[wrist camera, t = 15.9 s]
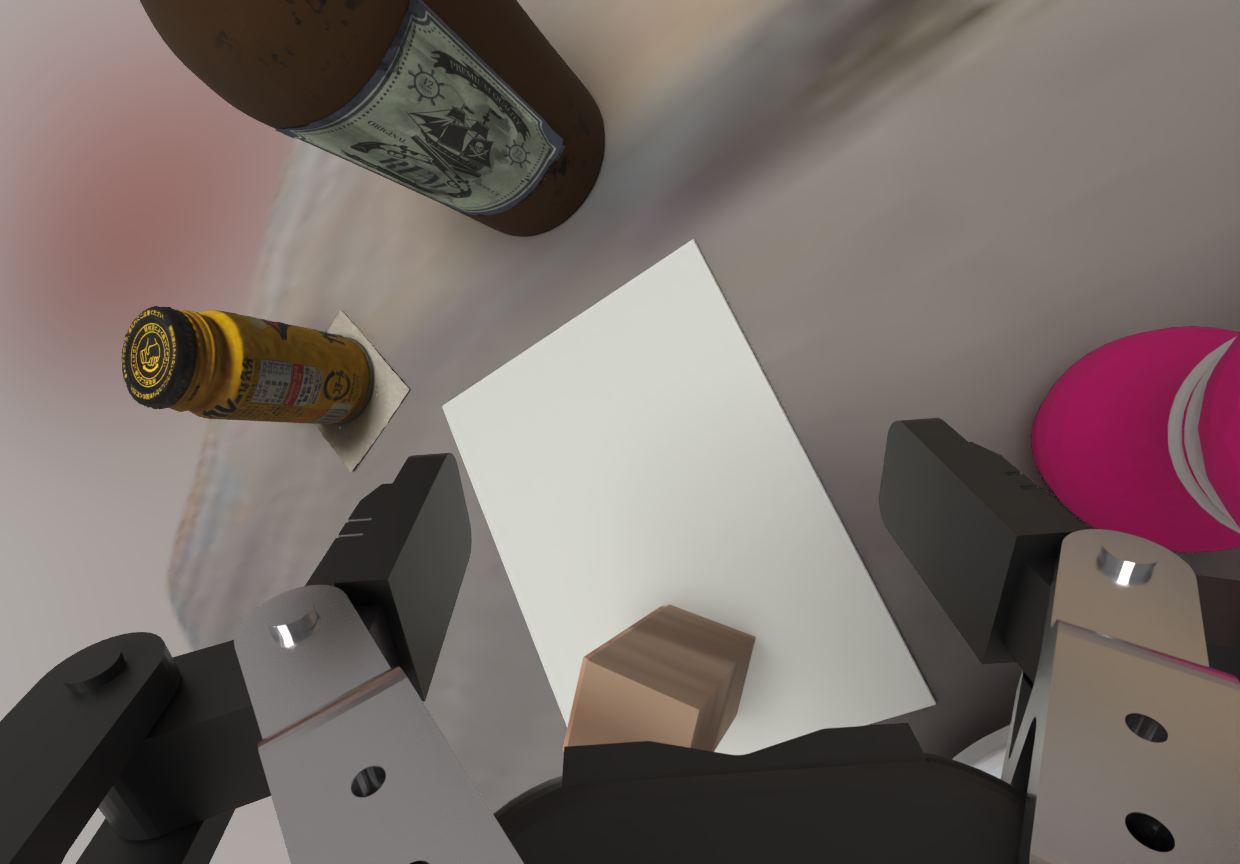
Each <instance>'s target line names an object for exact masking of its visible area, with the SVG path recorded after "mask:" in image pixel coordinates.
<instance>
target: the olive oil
mask: <svg viewBox="0 0 1240 864" xmlns="http://www.w3.org/2000/svg"><path fill="white" fill-rule="evenodd" d="M140 2H141V3H142V5H143V7H144V9H145V11H146V13H147V15H148V16H149V18H150V20H151V22H152V23H153V25H154V27H155V28H156V30H157V31H158V33H159V34H160V36H161V37H162V39H163V40H164V42H165V43H166V44H167V45H168V47H169V48H170V49H171V50H172V52H173V53H174V54H175V55H176V56H177V57H178V58H179V59H180V60H181V61H182V62H183V64H184V65H185V66H187V68H189V69H190V70H191V71H192V72H193V73H194V74H195V75H196V76H197V77H198V78H199V79H201V80H202V81H203V82H204V83H205V84H206V85H207V86H208V87H210V88H211V89H212V90H213V91H214V92H216V93H217V94H218V95H219V96H220V97H222V98H223V99H224V100H226V101H227V102H228V103H230V104H231V105H232V106H234V107H235V108H237V109H238V110H240V111H242V112H243V113H245V114H247V115H248V116H250V117H252V118H254V119H256V120H258V121H260V122H262V123H264V124H266V125H268V126H271V127H273V128H275V129H276V130H277V131H279V132H281V133H283V134H285V135H287V136H290V137H292V138H297V139H300V140H302V141H304V142H307V143H309V144H311V145H313V146H316V147H318V148H320V149H322V150H325V151H327V152H329V153H332V154H334V155H336V156H338V157H341V158H343V159H345V160H347V161H350V162H352V163H354V164H356V165H359V166H361V167H363V168H365V169H367V170H370V171H372V172H374V173H376V174H378V175H381V176H383V177H385V178H387V179H389V180H392V181H394V182H396V183H398V184H400V185H403V186H405V187H407V188H409V189H411V190H413V191H416V192H418V193H420V194H422V195H424V196H427V197H429V198H431V199H433V200H435V201H437V202H440V203H442V204H444V205H446V206H448V207H450V208H452V209H454V210H456V211H458V212H460V213H462V214H464V215H466V216H468V217H471V218H473V219H475V220H477V221H479V222H481V223H483V224H485V225H487V226H489V227H491V228H493V229H495V230H498V231H500V232H503V233H506V234H510V235H515V236H529V235H535V234H539V233H542V232H545V231H547V230H549V229H551V228H553V227H555V226H557V225H558V224H560V223H561V222H563V221H564V220H565V219H566V218H568V217H569V216H570V215H571V214H572V213H573V212H574V211H575V210H576V209H577V208H578V207H579V205H580V204H581V203H582V202H583V200H584V199H585V197H586V196H587V194H588V193H589V191H590V189H591V187H592V185H593V183H594V181H595V179H596V177H597V174H598V171H599V168H600V164H601V160H602V155H603V148H604V130H603V123H602V118H601V115H600V112H599V109H598V107H597V105H596V103H595V101H594V99H593V97H592V96H591V94H590V93H589V91H588V90H587V89H586V87H585V86H584V85H583V84H582V82H581V81H580V80H579V79H578V77H577V76H576V75H575V74H574V73H573V71H572V70H571V69H570V68H569V66H568V65H567V64H566V63H565V61H564V60H563V59H562V58H561V57H560V55H559V54H558V53H557V52H556V50H555V49H554V48H553V47H552V45H551V44H550V43H549V42H548V40H547V39H546V38H545V37H544V35H543V34H542V33H541V32H540V30H539V29H538V28H537V26H536V25H535V24H534V23H533V21H532V20H531V19H530V17H529V16H528V15H527V13H526V12H525V11H524V10H523V8H522V7H521V6H520V4H519V3H518V2H517V0H140Z"/></svg>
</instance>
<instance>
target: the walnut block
mask: <svg viewBox="0 0 1240 864" xmlns="http://www.w3.org/2000/svg"><path fill="white" fill-rule="evenodd" d="M755 639H756V637H755V636H752V635H750V634H747V633H744V632H742V631H739V630H736V629H734V628H731V627H728V626H726V625H723V624H720V623H718V622H715V621H713V620H710V619H707V618H705V617H702V616H699V615H697V614H694V613H691V612H689V611H686V610H683V609H681V608H678V607H675V606H673V605H668V606H667V607H664V606H660V607H659V608H657V609H656V610H654V611H653V612H651V613H650V614H648V615H647V616H645V617H644V618H642V619H641V620H639V621H638V622H636V623H634V624H633V625H631V626H630V627H628V628H627V629H625V630H624V631H622V632H621V633H619V634H618V635H616V636H615V637H613V638H612V639H610V640H609V641H607V642H605V643H604V644H602V645H601V646H599V647H598V648H596V649H595V650H593V651H592V652H590V653H589V654H587V655H586V656H584V657H583V660H582V665H581V669H580V674H579V678H578V683H577V687H576V692H575V696H574V700H573V705H572V709H571V714H570V718H569V723H568V727H567V731H566V736H565V740H564V745H563V749H562V750H563V751H564V747H566V746H581V745H595V744H610V743H624V742H639V741H653V742H658V743H664V744H670V745H676V746H682V747H688V748H694V749H700V750H706V751H712V752H714V751H715V749H716V748H717V746H718V745H719V743H720V741H721V740H722V738H723V737H724V735H725V733H726V732H727V730H728V729H729V727H730V725H731V724H732V722H733V720H734V719H735V717H736V716H737V712H738V708H739V704H740V700H741V696H742V692H743V687H744V683H745V679H746V675H747V671H748V667H749V663H750V659H751V655H752V651H753V647H754V643H755Z"/></svg>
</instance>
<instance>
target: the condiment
mask: <svg viewBox="0 0 1240 864" xmlns="http://www.w3.org/2000/svg"><path fill="white" fill-rule="evenodd" d="M122 371H123V377H124V379H125V382H126V384H127V388H128V391H129V393H130V394H131V395H132V397H133V398H134V399H135V400H136V401H137V402H138V403H140V404H142V405H144V406H147V407H152V408H153V409H163V408H171V409H174V410H177V411H179V412H183V411H187V410H188V411H190V412H192V413H193V414H195V415H197V416H199V417H203V418H208V419H227V420H250V421H271V422H293V423H315V424H316V425H317V427H318V428H319V430H320V431H321V432H322V434H323V436H324V438H325V439H326V440H327V441H328V442H329V443H330V445H331V447H332V448H333V449H334V450H335V451H336V453H337V454H338V455H339V457H340V459H341V460H342V462H343V464H344V465H345V466H346V467H347V468H348V470H349V471H350V472H352V470H353V469H354V468H355V466H356V465H357V463H359V462H360V461H361V459H362V458H363V456H364V455H365V454H366V452H367V451H368V449H369V448H370V446H371V445H372V444H373V443H374V442H375V440H376V439H377V437H378V436H379V434H380V433H381V431H382V430H383V428H384V427H385V426H386V425H387V424H388V421H389V419H390V418H391V416H392V415H393V413H394V412H395V411H396V409H397V408H398V407H399V405H400V403H401V401H402V400H403V398H404V397H405V395H406V394H407V393H408V391H409V388H408V387H407V386H406V385H405V384H404V383H403V382H402V381H401V379H400V378H399V377H398V375H397V374H396V373H395V372H394V371H393V370H392V369H391V368H390V367H389V365H388V364H387V363H386V362H385V361H384V360H383V359H382V357H381V356H380V355H379V354H378V352H377V351H376V350H375V348H374V347H373V346H372V345H371V343H370V342H369V341H368V340H367V339H366V338H365V337H364V335H363V334H362V333H361V332H360V331H359V330H358V328H357V327H356V326H355V325H354V324H353V323H352V322H351V320H350V319H349V318H348V317H347V316H346V315H345V314H344V313H343V312H342V311H341V310H340V311H339V313H338V315H337V316H336V318H335V319H334V321H333V322H332V325H331V327H330V328H329V329H328V332H323V331H317V330H312V329H307V328H303V327H299V326H292V325H288V324H284V323H280V322H272V321H268V320H264V319H258V318H255V317H250V316H243V315H238V314H236V313H229V312H224V311H218V310H217V311H216V310H212V311H204V312H201V313H197V312H194V311H185V310H182V311H180V310H174V309H172V308H170V307H157V306H155V307H151V308H148V309H146V310H145V311H143V312H142V313H141V314H140V315H139V316H138V317H137V318H136V319H135V320H134V321H133V322H132V324H131V326H130V328H129V330H128V333H127V334H126V335H125V343H124V346H123V349H122ZM376 386H377V391H375V387H376ZM376 392H377V393H378V398H376ZM339 426H340V427H341V429H339Z"/></svg>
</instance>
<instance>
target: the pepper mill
mask: <svg viewBox="0 0 1240 864" xmlns="http://www.w3.org/2000/svg"><path fill="white" fill-rule="evenodd" d="M1031 446H1032V452H1033V457H1034V460H1035V463H1036V466H1037V468H1038V470H1039V472H1040V474H1041V476H1042V477H1043V479H1044V480H1045V482H1046V483H1047V484H1048V486H1049V487H1050V488H1051V489H1052V490H1053V492H1054V493H1055V494H1056V496H1057V497H1058V498H1059V500H1060V501H1061V502H1062V503H1063V504H1064V505H1065V506H1066V507H1067V508H1068V509H1069V510H1070V511H1071V512H1072V513H1073V514H1075V515H1076V516H1077V517H1079V518H1080V519H1081V520H1083V521H1084V522H1085V523H1087V524H1088V525H1090V526H1092V527H1093V528H1095V529H1104V530H1112V531H1118V532H1123V533H1127V534H1131V535H1135V536H1138V537H1141V538H1144V539H1147V540H1149V541H1152V542H1154V543H1156V544H1159V545H1161V546H1163V547H1164V548H1166V549H1168V550H1170V551H1176V552H1184V553H1190V552H1209V551H1223V550H1228V549H1232V548H1237V547H1240V332H1235V331H1230V330H1225V329H1220V328H1210V327H1197V326H1190V327H1171V328H1165V329H1160V330H1154V331H1149V332H1143V333H1139V334H1135V335H1131V336H1127V337H1124V338H1121V339H1118V340H1116V341H1113V342H1110V343H1108V344H1105V345H1103V346H1101V347H1100V348H1098V349H1096V350H1094V351H1092V352H1090V353H1088V354H1087V355H1086V356H1084V357H1083V358H1082V359H1080V360H1079V361H1078V362H1076V363H1075V364H1074V365H1072V366H1071V367H1070V368H1069V369H1068V370H1067V371H1066V372H1065V373H1064V374H1063V375H1062V376H1061V378H1060V379H1059V380H1058V381H1057V382H1056V383H1055V384H1054V386H1053V387H1052V389H1051V391H1050V392H1049V394H1048V396H1047V398H1046V399H1045V401H1044V402H1043V403H1042V405H1041V407H1040V409H1039V411H1038V413H1037V415H1036V417H1035V420H1034V424H1033V427H1032V434H1031Z"/></svg>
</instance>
